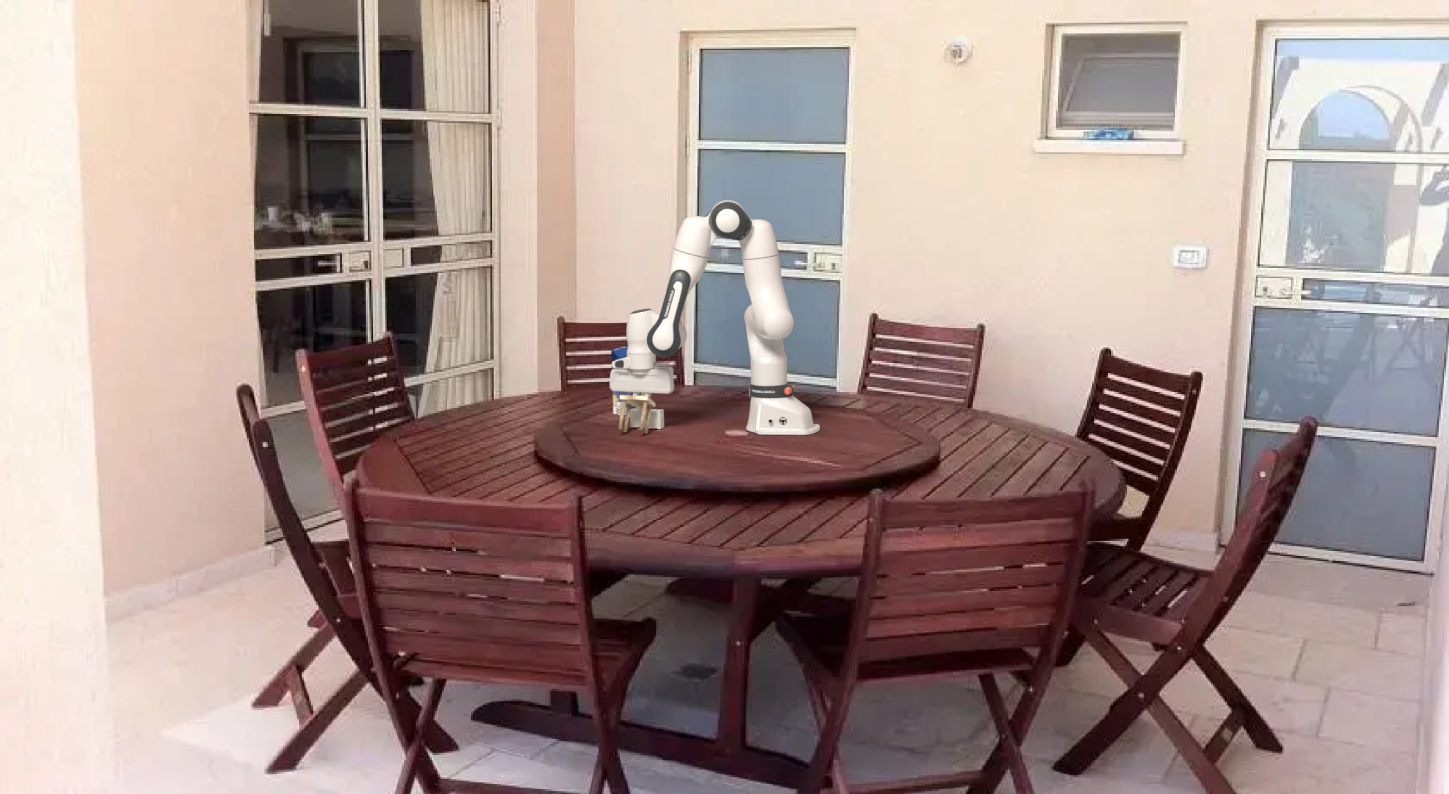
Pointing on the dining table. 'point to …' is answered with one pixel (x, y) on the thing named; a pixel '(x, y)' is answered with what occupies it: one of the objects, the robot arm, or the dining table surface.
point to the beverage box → (617, 402)
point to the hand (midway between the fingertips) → (642, 406)
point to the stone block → (635, 418)
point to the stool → (640, 402)
